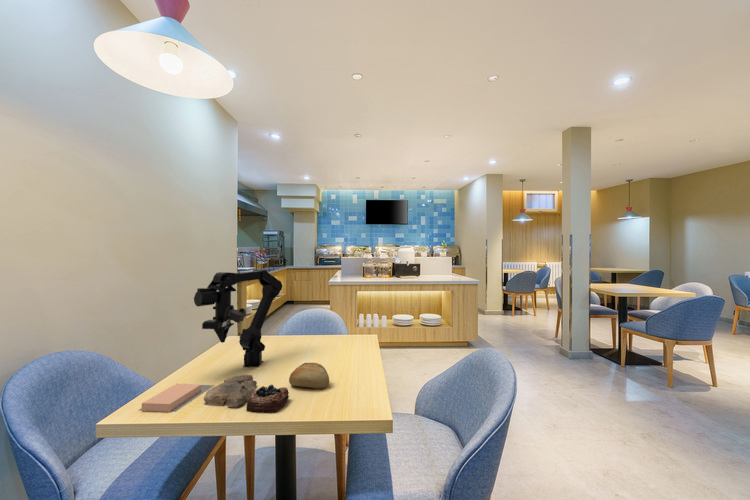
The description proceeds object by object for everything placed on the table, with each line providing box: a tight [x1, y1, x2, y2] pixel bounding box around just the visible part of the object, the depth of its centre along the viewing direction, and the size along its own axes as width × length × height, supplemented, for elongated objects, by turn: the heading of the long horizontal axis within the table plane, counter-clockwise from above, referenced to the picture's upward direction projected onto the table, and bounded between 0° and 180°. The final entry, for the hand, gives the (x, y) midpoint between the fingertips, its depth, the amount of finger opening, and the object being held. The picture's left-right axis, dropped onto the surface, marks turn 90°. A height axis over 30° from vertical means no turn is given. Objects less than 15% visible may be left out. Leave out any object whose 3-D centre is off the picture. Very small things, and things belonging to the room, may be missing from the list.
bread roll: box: [288, 362, 330, 390], centre depth 115 cm, size 10×15×8 cm, turn 83°
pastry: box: [246, 384, 290, 414], centre depth 101 cm, size 11×12×6 cm
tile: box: [141, 383, 202, 413], centre depth 103 cm, size 2×9×15 cm
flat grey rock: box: [203, 374, 257, 409], centre depth 109 cm, size 14×5×20 cm
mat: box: [139, 384, 215, 413], centre depth 106 cm, size 20×12×1 cm, turn 175°
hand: (222, 342), depth 127 cm, fingers closed
